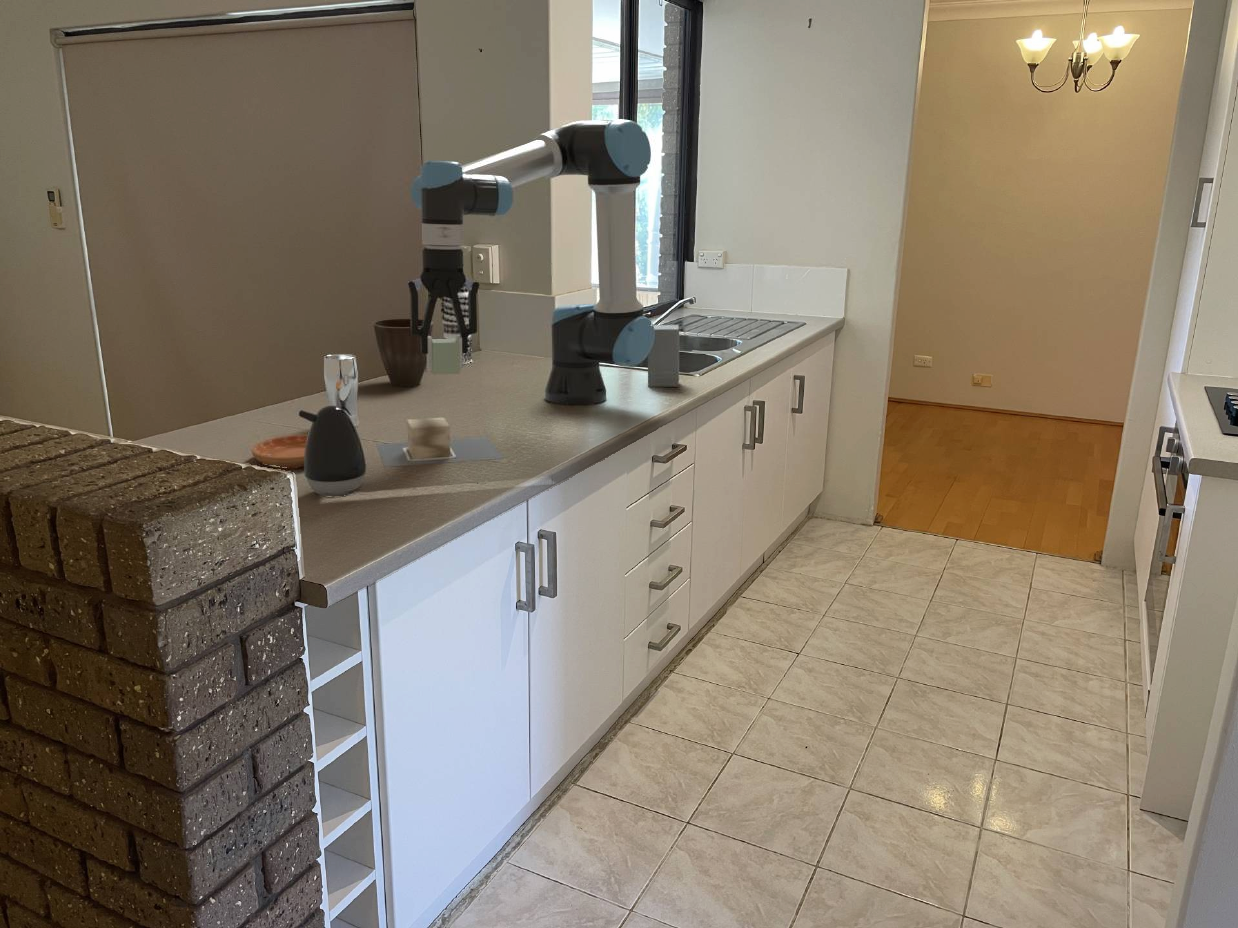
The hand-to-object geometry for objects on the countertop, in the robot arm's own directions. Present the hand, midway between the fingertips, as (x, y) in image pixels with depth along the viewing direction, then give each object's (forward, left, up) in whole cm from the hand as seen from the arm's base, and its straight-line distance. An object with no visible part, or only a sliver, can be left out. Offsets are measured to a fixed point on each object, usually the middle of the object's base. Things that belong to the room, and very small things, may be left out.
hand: (444, 370), depth 184 cm
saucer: (+28, -1, -17) cm, 33 cm away
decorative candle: (-18, -93, -16) cm, 96 cm away
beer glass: (+18, -25, -16) cm, 35 cm away
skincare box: (-65, -48, -16) cm, 82 cm away
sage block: (0, 0, 0) cm, 0 cm away
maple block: (+4, +6, -15) cm, 16 cm away
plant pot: (0, -66, -16) cm, 68 cm away
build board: (+2, +5, -16) cm, 17 cm away
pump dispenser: (+22, +22, -16) cm, 35 cm away
